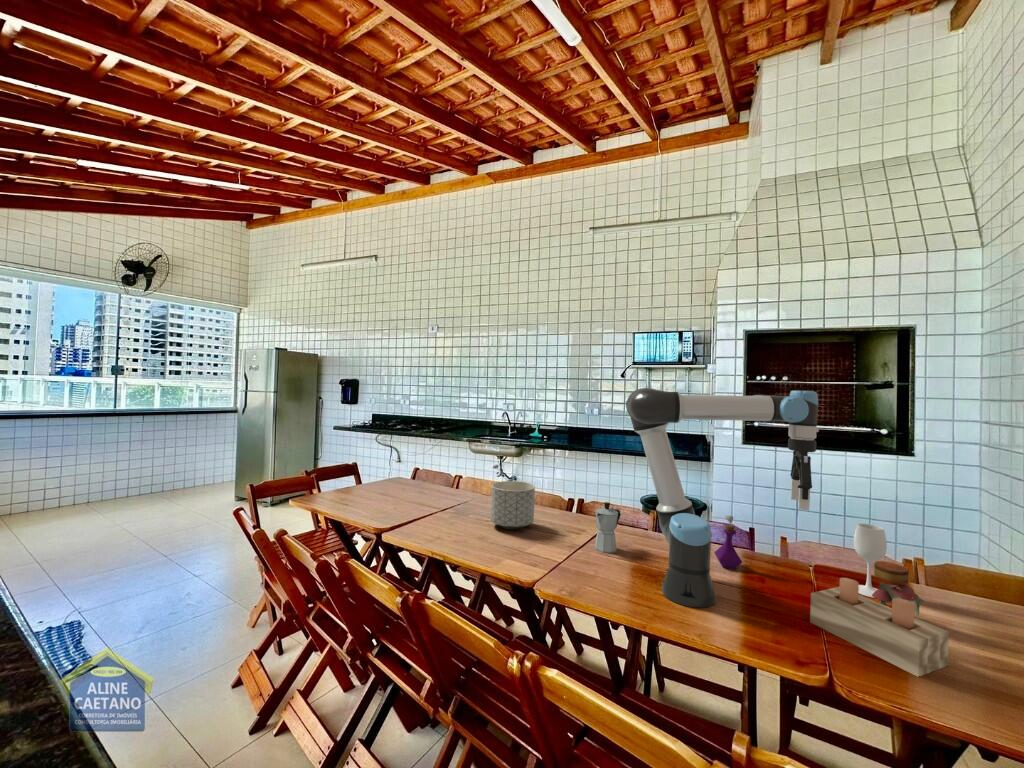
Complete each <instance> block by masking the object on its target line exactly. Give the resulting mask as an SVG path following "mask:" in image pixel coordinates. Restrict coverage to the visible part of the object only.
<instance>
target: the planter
mask: <svg viewBox="0 0 1024 768" xmlns="http://www.w3.org/2000/svg"><path fill="white" fill-rule="evenodd" d="M535 490H536V487H535V485H534V484H532V483H530V482H527V481H518V480H504V481H496V482H494V483H492V484H491V503H490V504H491V505H490V521H491V522H492V523H494V524H495V525H498V526H499V527H500V528H503V529H506V530H520V529H523V528H525V527H526V526H529V525H531V524H534V520H535Z"/></svg>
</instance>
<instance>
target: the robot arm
mask: <svg viewBox="0 0 1024 768" xmlns="http://www.w3.org/2000/svg"><path fill="white" fill-rule="evenodd" d="M818 397H819V395H818V393H817V392H816V391H813V390H791V391H790V394H789V395H770V394H769V395H768V394H754V395H718V394H717V395H715V394H714V395H709V394H707V395H703V394H701V395H700V394H697V395H696V394H693V395H692V394H689V395H687V394H681V393H680V392H679V391H665V390H660V389H656V388H649V387H642V388H638V389H635V390H634V391H632V392H631V393H630V394H629V395H628V397H627V399H626V406H625V409H626V412H627V414H628V415H629V417H630V420H631V425H632V428H633V430H634V432H635V433H637V434H638V435H639V436H640V439H641V442H642V446H643V449H644V450H643V451H644V454H645V456H646V461H647V463H648V464H647V465H648V467H649V471H650V475H651V477H652V481H653V485H654V488H655V492H656V496H657V499H658V504H657V506H656V509H655V510H656V513H657V516H658V520H659V521H658V522H659V523H658V524H659V528H660V531H661V533H662V534H663V536H664V537H665V540H666V541H667V542H668V546H669V547H668V548H669V549H668V568H667V570H666V573H665V575H664V576H665V577H664V578H663V581H662V583H661V592H662V595H664V597H666V598H667V599H668V600H670V601H671V602H673V603H675V604H679V605H682V606H686V607H691V608H707V607H708V608H709V607H711V606H713V605H714V604H715V603H716V599H717V598H716V597H717V595H716V591H715V588H714V585H713V581H712V576H711V548H712V547H711V545H712V536H713V535H712V528H711V527H712V526H711V523H710V522H709V521H708V520H707V519H706V518H704V517H701V516H699V515H696V512H695V510H694V507H693V503H692V501H691V500H689V499H688V498H687V497H686V495H685V492H684V488H683V485H682V481H681V479H680V475H679V471H678V468H677V464H676V461H675V458H674V455H673V454H674V453H673V450H672V447H671V443H670V439H669V437H668V432H667V427H668V425H669V424H678V423H680V422H681V421H683V420H684V421H685V420H686V421H687V420H689V421H693V420H695V421H743V422H744V421H745V422H746V421H749V422H751V421H752V422H753V421H756V422H785V423H786V422H787V423H788V432H787V433H788V435H787V436H788V437H789V438H788V440H787V441H788V442H787V448H788V450H789V451H792V463H791V467H790V468H791V470H790V474H789V475H790V478H791V483H790V485H791V486H790V500H794V501H798V507H797V508H798V510H801V511H802V510H803V511H810V505H811V504H810V503H811V502H810V500H811V496H810V495H811V489H812V488H813V485H812V484H813V483H812V467H811V466H812V464H811V460H812V458H811V456H810V455H808V454H809V453H815V452H816V451H817V441H816V440H815V439H817V433H819V432H820V430H819V429H818V427H817V426H818V407H819V398H818Z"/></svg>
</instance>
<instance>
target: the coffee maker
mask: <svg viewBox="0 0 1024 768" xmlns="http://www.w3.org/2000/svg"><path fill="white" fill-rule="evenodd" d="M603 505H604V507H603V508H598V509H596V510H595V520H596V521H595V522H596V528H597V533H596V537H595V543H594V549H595V551H598V552H600V553H605V554H613V553H615V552H617V551H618V550H617V549H618V548H617V541H616V533H615V530H616V529H617V526H618V525H619V521H620V518H621V515H622V514H621V511H620V509H618V508H613V507H610V505H611V503H610V502H607V501H604V502H603Z"/></svg>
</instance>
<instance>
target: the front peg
mask: <svg viewBox="0 0 1024 768" xmlns="http://www.w3.org/2000/svg"><path fill="white" fill-rule="evenodd" d="M914 606H915V605H914V604H913V603H912V602H910V601H907V600H904V599H900V598H893V599H892V604H891V608H892V623H894V624H896V625H898V626H901V627H903V628H905V629H908V630H912V629H914V618H915V613H914Z"/></svg>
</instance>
